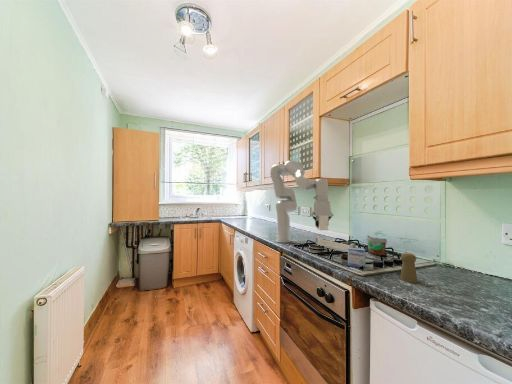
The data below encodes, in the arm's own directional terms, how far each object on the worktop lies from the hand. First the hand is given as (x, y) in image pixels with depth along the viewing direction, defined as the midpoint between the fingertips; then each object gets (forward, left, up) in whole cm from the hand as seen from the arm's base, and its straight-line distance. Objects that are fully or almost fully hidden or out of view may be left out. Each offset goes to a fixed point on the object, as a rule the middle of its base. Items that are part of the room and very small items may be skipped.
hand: (321, 226), depth 142 cm
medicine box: (+30, -8, -16) cm, 35 cm away
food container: (+21, +21, -16) cm, 34 cm away
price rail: (0, +11, -15) cm, 19 cm away
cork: (+53, -6, -16) cm, 56 cm away
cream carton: (0, 0, -2) cm, 2 cm away
